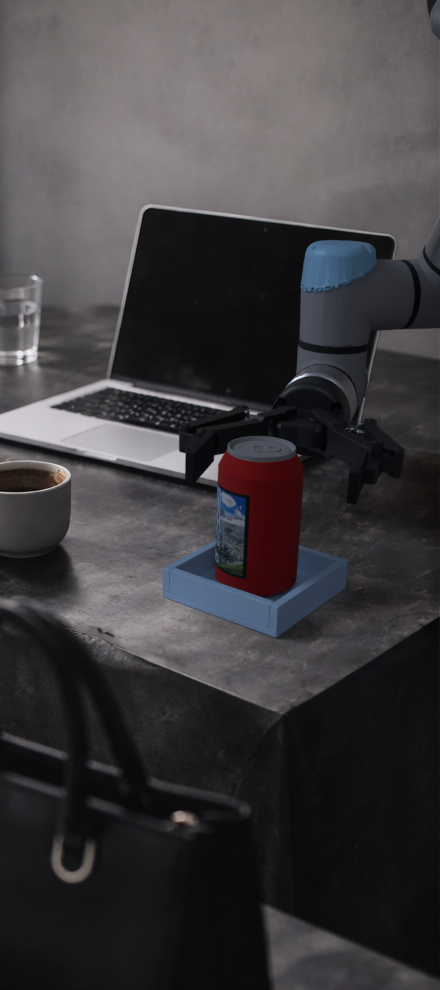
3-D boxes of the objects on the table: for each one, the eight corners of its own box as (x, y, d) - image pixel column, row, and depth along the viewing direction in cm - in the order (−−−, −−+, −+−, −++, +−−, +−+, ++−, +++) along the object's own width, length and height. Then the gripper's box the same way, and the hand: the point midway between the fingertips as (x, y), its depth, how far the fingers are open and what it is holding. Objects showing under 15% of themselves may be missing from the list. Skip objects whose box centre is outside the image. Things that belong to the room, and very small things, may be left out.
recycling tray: (345, 588, 82) (348, 559, 81) (276, 638, 73) (277, 607, 72) (238, 554, 87) (239, 527, 87) (162, 597, 79) (162, 568, 78)
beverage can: (212, 567, 83) (216, 432, 79) (291, 567, 84) (299, 433, 79) (216, 604, 77) (220, 459, 73) (301, 604, 77) (311, 460, 73)
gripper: (435, 459, 97) (419, 540, 78) (195, 433, 103) (125, 502, 84) (444, 386, 95) (429, 451, 75) (196, 363, 100) (125, 418, 81)
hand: (269, 478), depth 80 cm, fingers open, 13 cm apart
